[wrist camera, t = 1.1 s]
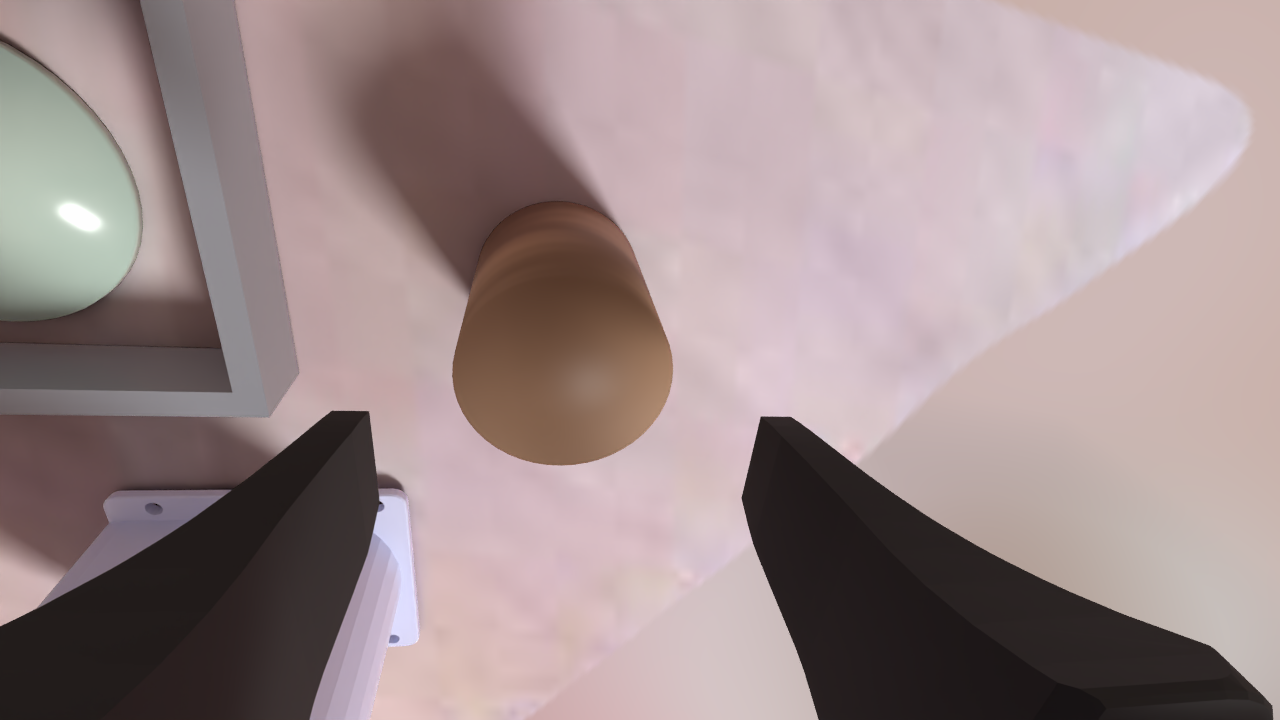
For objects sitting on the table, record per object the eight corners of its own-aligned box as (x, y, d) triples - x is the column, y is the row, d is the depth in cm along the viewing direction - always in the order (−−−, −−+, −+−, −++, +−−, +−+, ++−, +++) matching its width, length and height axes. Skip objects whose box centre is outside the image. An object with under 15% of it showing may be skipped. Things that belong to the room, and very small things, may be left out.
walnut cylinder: (477, 349, 20) (456, 465, 15) (474, 195, 18) (447, 270, 13) (630, 354, 21) (659, 465, 16) (646, 207, 19) (686, 281, 14)
